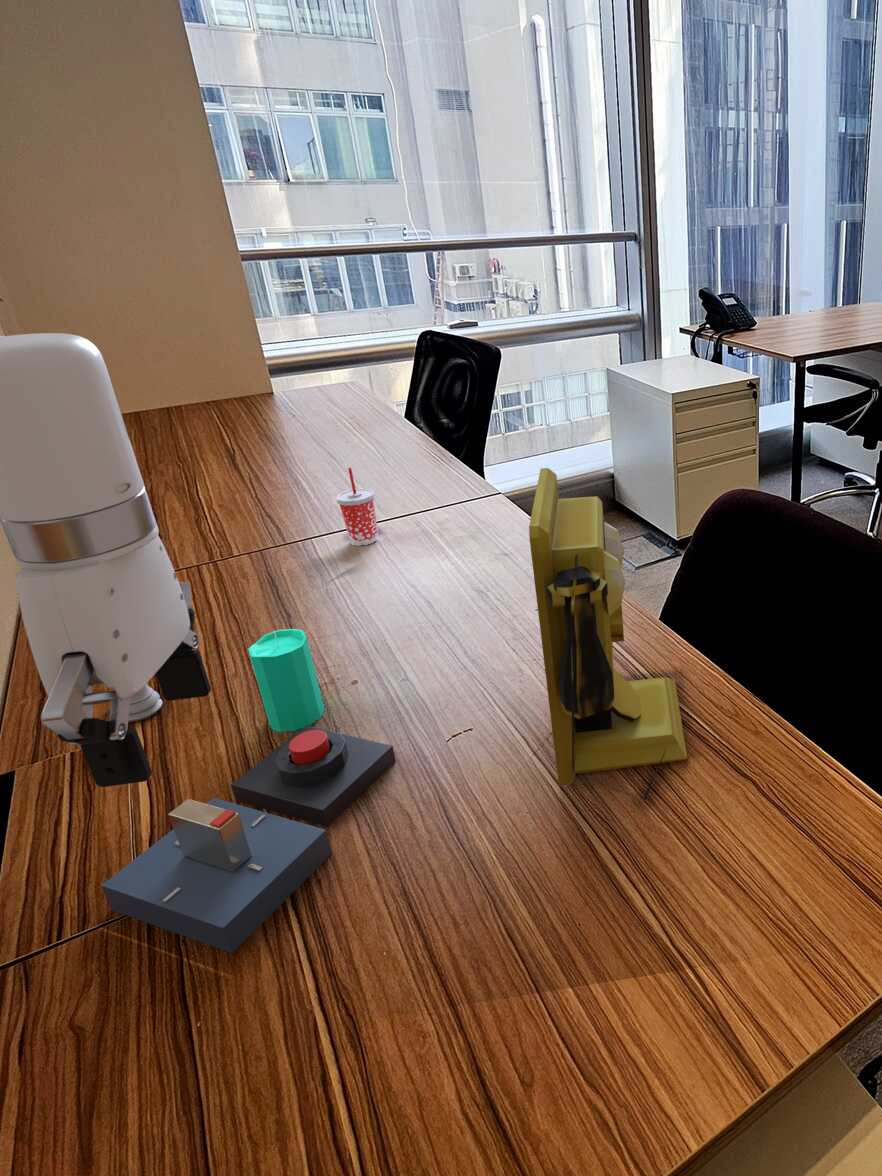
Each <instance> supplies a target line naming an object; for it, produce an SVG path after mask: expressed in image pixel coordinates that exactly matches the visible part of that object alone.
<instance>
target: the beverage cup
mask: <svg viewBox="0 0 882 1176" xmlns="http://www.w3.org/2000/svg"><path fill="white" fill-rule="evenodd" d="M347 469H348V474H349V479H350V484H351V489H349V490H346V491H345V490H344V491H343V492H340V493H338V494H337V496H336V497H335V499H336V502H337V504H338V505H339V507H340V508H339V509H340V511H341V514H342V517H343V523H344V525H345V528H346V532H347V535H348V538H349V539H348V540H349V543H350V544H351V546H354V545H356V546H355V547H362V546H361V545H365V546H369V545H372V544H374V543H373V542H375V541H376V542H378V540H379V531H378V524H377V515H376V509H375V502H374V501H375V499H374V498H375V491H374V490H373V489H370V488H356V485H355V481H354V475H353V470H352V467H348V468H347ZM376 542H375V543H376ZM371 543H372V544H371ZM368 544H369V545H368Z"/></svg>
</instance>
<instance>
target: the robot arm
mask: <svg viewBox="0 0 882 1176" xmlns="http://www.w3.org/2000/svg"><path fill="white" fill-rule="evenodd" d="M157 523H158V522H157V520H156V518H155V515H154V512H153V508H152V505H151V502H150V499H149V496H148V493H147V489H146V487H145V483H144V480H143V477H142V474H141V471H140V467H139V464H138V461H137V458H136V455H135V452H134V449H133V446H132V443H131V439H130V436H129V434H128V430H127V427H126V424H125V421H124V417H123V414H122V412H121V408H120V405H119V402H118V399H117V396H116V393H115V390H114V387H113V383H112V380H111V378H110V375H109V372H108V367H107V365H106V362H105V360H104V357H103V355H102V353H101V351H100V350H99V349H98V347H97V346H96V345H95V344H94V343H93V342H92V341H90V340H89V339H87V338H85V337H83V336H80V335H77V334H71V333H64V332H63V333H61V332H43V333H39V332H37V333H23V334H14V335H0V524H1V526H2V528H3V531H4V534H5V537H6V538H7V541H8V544H9V546H10V549H11V551H12V554H13V556H14V558H15V561H16V563H17V566H18V567H20V569H19V570H18V571H17V572H16V575H15V576H16V587H17V588H16V589H17V596H18V602H19V607H20V608H19V609H20V612H21V617H22V622H23V626H24V630H25V633H26V636H27V637H26V638H27V640H28V643H29V647H30V650H31V653H32V656H33V659H34V663H35V666H36V669H37V671H38V674H39V678H40V680H41V683H42V685H43V689H44V690H45V693H46V695H47V700H46V702H45V704H44V706H43V708H42V710H41V714H40V721H41V724H42V725H43V726H45V727H46V728H47V729H49V730H51V732H53V733H54V734H56V735H57V737H58V739H59V740H60V741H61V742H65V743H66V742H67V743H70V744H71V745H72V746H73V747H77V746H80V749H81V751H82V754H83V756H84V759H85V761H86V763H87V765H88V768H89V771H90V773H91V776H92V778H93V780H94V783H95V784H96V786H97V787H100V788H107V787H114V786H115V787H116V786H122V785H128V784H137V783H144V782H146V781H148V780H149V779H150V777H151V775H152V774H153V770H152V768H151V765H150V762H149V760H148V757H147V755H146V752H145V749H144V747H143V744H142V740H141V738H140V736H139V733H138V731H137V729H136V728H130V729H129V722H128V720H129V709H130V698H131V697H132V696H133V695H135V694H136V693H137V692H138V691H139V690H140V689H142V688H143V687H144V686H145V685H146V684H148V683H149V682H150V680H151V679H152V678H153V677H154V676H155V675H156V678H157V681H158V684H159V687H160V690H161V693H162V695H163V698H164V700H166V701H167V702H168V701H169V702H170V701H178V700H187V699H196V698H202V697H203V698H204V697H207V696H208V695H209V694H210V692H211V691H212V687H211V683H210V679H209V677H208V675H207V671H206V669H205V668H206V667H205V665H204V662H203V659H202V656H201V653H200V649H198V648H199V645H200V636H199V635H198V634H197V633H196V632H195V631H194V625H195V619H196V612H195V611H194V609H193V608H191V607H192V588H191V585H190V582H187V581H183V582H179V579H178V577H177V574H176V571H175V569H174V567H173V564H172V562H171V559H170V557H169V555H168V553H167V551H166V547H165V545H164V544H163V542H162V539H161V538H160V536H159V533H160V530H159V527H158V524H157ZM101 685H105V686H106V687H107V688H108V689H112V688H113V689H114V690H108V691H100V692H99V691H98V692H94V691H93V690H94V686H101ZM109 703H110V707H109V717H108V720H104V719H101V718H96V717H93V714H94V705H101V704H109Z"/></svg>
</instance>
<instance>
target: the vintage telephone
mask: <svg viewBox="0 0 882 1176" xmlns="http://www.w3.org/2000/svg"><path fill="white" fill-rule="evenodd" d="M538 474H539V476H538V480H537V484H536V490H535V495H534V500H533V505H532V509H531V510H532V511H531V515H530V520H529V526H528V532H529V533H528V535H529V537H528V538H529V546H530V554H531V563H532V571H533V580H534V588H535V595H536V604H537V605H536V606H537V613H538V621H539V629H540V630H539V631H540V639H541V647H542V655H543V662H544V673H545V682H546V688H547V689H546V690H547V698H548V706H549V714H550V715H549V716H550V723H551V731H552V739H553V748H554V755H555V763H556V773H557V782H558V787H565V786H568V785H570V784H571V783H572V782H573V781H574V779H575V777H576V775H578V776H579V777H580V776H581V777H583V778H585V779H588V780H590V781H593V782H595V783H597V784H599V785H603V786H605V787H608V788H610V789H613V790H616V791H618V792H621V793H623V794H625V795H628V796H631V797H633V798H635V799H637V800H640V801H644V802H646V801H647V798H648V796H649V793H650V790H651V788H652V786H653V783H654V781H655V778H656V775H657V773H658V771H659V768H660V765H661V764H668V763H667V762H669V763H676V762H675V761H678V762H684V761H686V760H687V759H688V754H687V748H686V747H687V746H686V742H685V735H684V728H683V723H682V716H681V709H680V704H679V698H678V697H679V696H678V689H677V684H676V679H675V678H669V677H655V678H654V677H653V678H646V679H645V678H643V679H638V680H637V679H636V680H628V681H627V679H625V678H624V677H623V675H621V674H620V673H619V672H618V671H617V670H615V669H614V647H613V645H614V643H618V642H619V643H620V642H625V632H624V618H623V607H622V606H623V605H622V604H623V599H624V591H625V585H626V579H625V576H624V572H623V570H622V566H623V562H624V561H623V560H624V555H625V548H624V545H623V542H622V539H621V536H620V534H619V531H618V529H616V528H615V527H613V526H612V525H610V524H609V523H608V522H606V521H604V509H603V501H602V500H601V499H600V498H599V496H598V495H597V496H596V495H595V496H582V497H568V498H567V497H566V498H560V497H559V488H558V487H559V485H558V477H557V473H556V472H554V471H553V470H552V469H550V468H549V467H544V468H543V467H541V468H540V470H539V473H538ZM683 760H684V761H683ZM660 763H661V764H660ZM652 764H653V765H657V768H656V770H655V772H654V774H653V777H652V779H651V781H650V783H649V786H648V788H647V790H646V792H645V795H644V797H643V799H642V798H639V797H636V796H634V795H631V794H629V793H627V792H624V791H622V790H619V789H616V788H614V787H611V786H609V785H607V784H604V783H602V782H600V781H597V780H595V779H591V778H589V777H588V776H584V775H582V774H584V773H585V774H586V773H593V772H600V771H603V772H604V771H610V770H619V769H626V768H627V769H628V768H635V767H643V766H644V767H645V766H652Z"/></svg>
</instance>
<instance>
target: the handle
mask: <svg viewBox="0 0 882 1176" xmlns="http://www.w3.org/2000/svg"><path fill="white" fill-rule="evenodd" d="M167 815H168V818H169V821H170V824H171V826H172V830H173V829H174V832H175V835H176V837H177V840H178V843H179V846H180V848H181V851H182V854H183V856H185V857H188V858H191V859H194V860H197V861H200V862H203V863H206V864H210V865H213V866H216V867H219V868H222V869H225V870H228V871H231V872H234V871H235V870H236V869H238V868H239V867H240V866H241V865H242V864H243V863H244V862H245V861H246V860H248V859H249V858H250V857H251V856H252V854H251V850H250V847H249V844H248V841H247V838H246V835H245V832H244V829H243V825H242V822H241V819H240V816H239V814H238V813H235V812H234V811H231V810H227V809H226V810H225V809H222V808H218V807H215V806H211V805H208V804H206V803H205V802H201V801H197V800H194V799H191V798H187V799H186V800H184V801H183V802H182V803H181V804H179V805H178V806H177V807H175V808H174V809H173V810H171V811H170V812H169V813H168V814H167Z"/></svg>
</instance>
